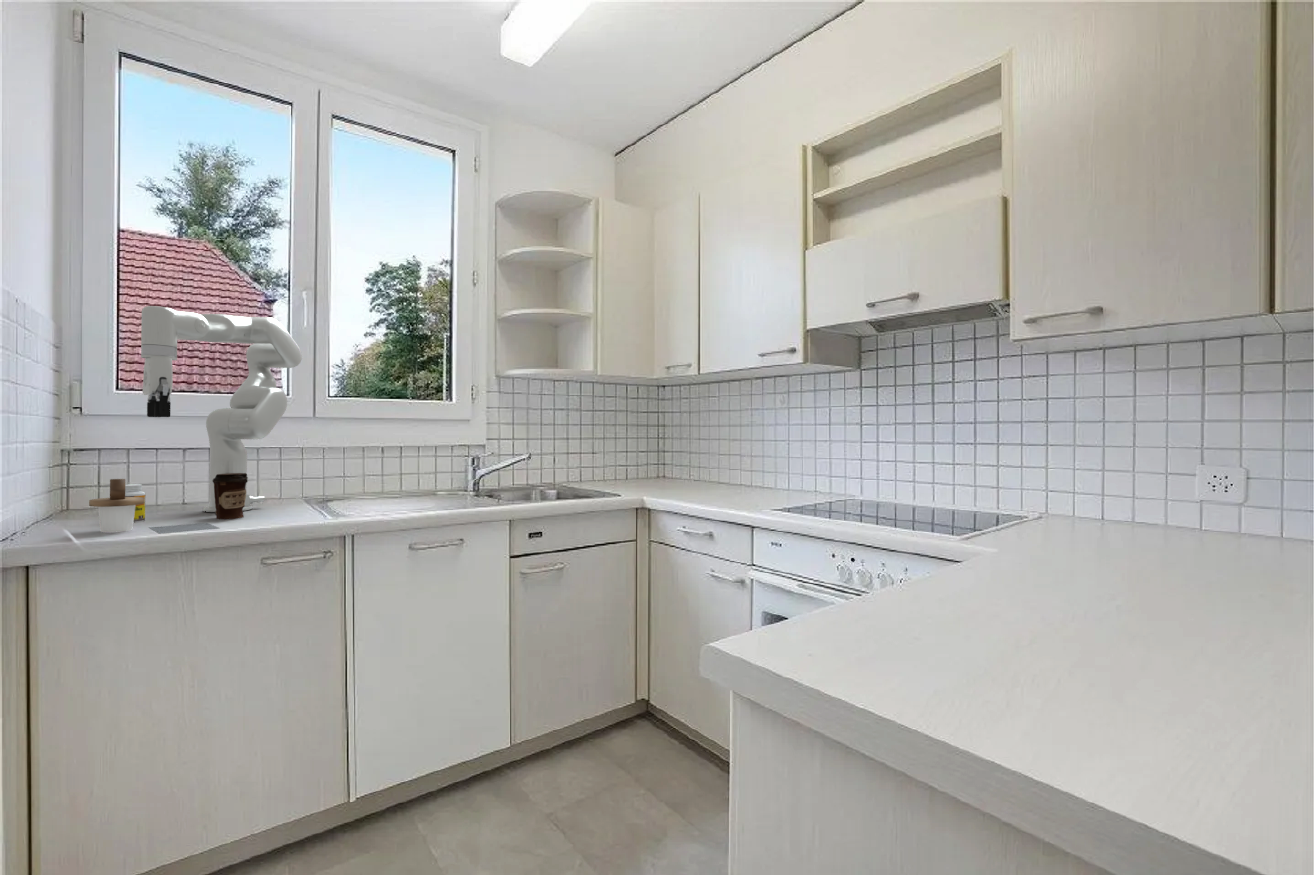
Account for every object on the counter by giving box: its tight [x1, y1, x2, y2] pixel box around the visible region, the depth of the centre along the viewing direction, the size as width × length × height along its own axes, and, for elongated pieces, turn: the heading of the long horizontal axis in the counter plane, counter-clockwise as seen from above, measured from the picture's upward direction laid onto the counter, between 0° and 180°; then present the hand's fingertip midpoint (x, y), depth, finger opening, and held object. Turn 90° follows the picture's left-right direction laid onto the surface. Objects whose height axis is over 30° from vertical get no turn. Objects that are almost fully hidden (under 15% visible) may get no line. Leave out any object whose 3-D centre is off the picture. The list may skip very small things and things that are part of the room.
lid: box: [88, 478, 146, 508], centre depth 148 cm, size 10×10×6 cm
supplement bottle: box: [125, 483, 147, 523], centre depth 163 cm, size 6×6×10 cm
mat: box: [148, 522, 219, 535], centre depth 153 cm, size 12×12×1 cm
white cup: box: [97, 505, 136, 534], centre depth 148 cm, size 7×7×7 cm
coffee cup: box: [213, 473, 249, 520], centre depth 172 cm, size 9×8×13 cm
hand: (158, 417), depth 165 cm, fingers open, 9 cm apart
